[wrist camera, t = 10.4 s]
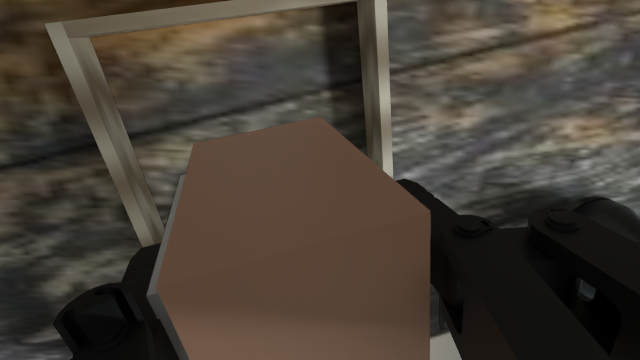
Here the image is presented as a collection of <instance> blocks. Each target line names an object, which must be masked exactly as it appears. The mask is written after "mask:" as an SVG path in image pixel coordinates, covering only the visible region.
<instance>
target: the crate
mask: <svg viewBox="0 0 640 360" xmlns="http://www.w3.org/2000/svg"><path fill="white" fill-rule="evenodd" d="M351 2H357V13H358V27H359V41H360V55H361V70H362V84H363V98H364V112H365V126H366V140H367V154H368V158H369V159H371V160H372V161H373V162H374V163H375V164H376V165H377V166H379V167H380V168H381V169H382V170H383V171H384V172H386V173H387V174H388V175H389V176H390V177H391V178H393V162H392V135H391V108H390V80H389V53H388V26H387V0H231V1H223V2H215V3H207V4H199V5H191V6H183V7H175V8H167V9H158V10H150V11H142V12H134V13H126V14H118V15H110V16H102V17H94V18H86V19H78V20H70V21H62V22H54V23H46V24H45V27H46V29H47V31H48V34H49V36H50V38H51V40H52V43H53V45H54V47H55V49H56V52H57V54H58V56H59V59H60V61H61V63H62V65H63V68H64V70H65V72H66V74H67V77H68V79H69V81H70V84H71V86H72V88H73V90H74V93H75V95H76V97H77V100H78V102H79V104H80V106H81V109H82V111H83V113H84V115H85V118H86V120H87V122H88V125H89V127H90V129H91V131H92V134H93V136H94V138H95V141H96V143H97V145H98V147H99V150H100V152H101V154H102V156H103V159H104V161H105V163H106V166H107V168H108V170H109V172H110V175H111V177H112V179H113V181H114V184H115V186H116V188H117V191H118V193H119V195H120V197H121V200H122V202H123V204H124V207H125V209H126V211H127V213H128V216H129V218H130V220H131V222H132V225H133V227H134V229H135V232H136V234H137V236H138V238H139V241H140V243H141V245H142V247H146V246H150V245H154V244H158V243H162V239H163V236H164V232H165V229H164V226H163V224H162V221H161V218H160V216H159V213H158V211H157V208H156V206H155V203H154V201H153V198H152V196H151V193H150V190H149V188H148V185H147V183H146V180H145V178H144V175H143V173H142V170H141V167H140V165H139V162H138V160H137V157H136V155H135V152H134V150H133V147H132V145H131V142H130V139H129V137H128V134H127V132H126V129H125V127H124V124H123V122H122V119H121V117H120V114H119V111H118V109H117V106H116V104H115V101H114V99H113V96H112V94H111V91H110V89H109V86H108V83H107V81H106V78H105V76H104V73H103V71H102V68H101V66H100V63H99V60H98V58H97V55H96V53H95V50H94V48H93V45H92V43H91V40H90V37H97V36H104V35H112V34H119V33H127V32H134V31H142V30H149V29H157V28H164V27H172V26H179V25H187V24H194V23H202V22H209V21H216V20H224V19H231V18H239V17H246V16H254V15H261V14H269V13H276V12H284V11H291V10H299V9H306V8H313V7H321V6H328V5H336V4H343V3H351Z"/></svg>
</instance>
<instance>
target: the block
mask: <svg viewBox="0 0 640 360" xmlns="http://www.w3.org/2000/svg"><path fill="white" fill-rule="evenodd" d="M156 289H157V291H158V294H159V296H160V298H161V300H162V302H163V304H164V306H165V308H166V311H167V313H168V315H169V317H170V319H171V321H172V323H173V325H174V327H175V330H176V332H177V334H178V336H179V338H180V340H181V342H182V344H183V347H184V349H185V351H186V353H187V355H188V357H189V359H190V360H429V359H430V210H429V209H427V208H426V207H425V206H424V205H423V204H422V203H420V202H419V201H418V200H417V199H416V198H415V197H414V196H412V195H411V194H410V193H409V192H408V191H407V190H405V189H404V188H403V187H402V186H401V185H400V184H398V183H397V182H396V181H395V180H394V179H393V178H391V177H390V176H389V175H388V174H387V173H386V172H384V171H383V170H382V169H381V168H380V167H379V166H377V165H376V164H375V163H374V162H373V161H372V160H371V159H369V158H368V157H367V156H366V155H365V154H364V153H362V152H361V151H360V150H359V149H358V148H357V147H355V146H354V145H353V144H352V143H351V142H350V141H348V140H347V139H346V138H345V137H344V136H343V135H341V134H340V133H339V132H338V131H337V130H336V129H334V128H333V127H332V126H331V125H330V124H329V123H327V122H326V121H325V120H324V119H323V118H322V117H317V118H313V119H308V120H303V121H298V122H294V123H289V124H284V125H280V126H275V127H270V128H265V129H261V130H256V131H251V132H246V133H242V134H237V135H232V136H227V137H223V138H218V139H213V140H209V141H204V142H199V143H194V144H193V148H192V152H191V156H190V159H189V163H188V167H187V171H186V175H185V178H184V182H183V186H182V190H181V194H180V198H179V201H178V205H177V209H176V213H175V217H174V220H173V224H172V228H171V232H170V236H169V240H168V243H167V247H166V251H165V255H164V259H163V262H162V266H161V270H160V274H159V278H158V282H157V285H156Z"/></svg>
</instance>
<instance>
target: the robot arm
mask: <svg viewBox="0 0 640 360" xmlns="http://www.w3.org/2000/svg"><path fill="white" fill-rule="evenodd" d="M185 175H186V174H184V175H181V176H180V180H179V183H178V187H177V190H176V194H175V197H174V201H173V204H172V208H171V211H170V215H169V218H168V222H167V225H166V229H165V232H164V236H163V239H162V243H158V244H154V245H150V246H146V247H142V248H141V249H140V250H139V251H138V252H137V253H136V254H135V255H134V256H133V258H132V259H131V260H130V262H129V264H128V267H127V269H126V272H125V273H126V274H125V275H124V277H123V279H122V282H121V283H108V284H105V285H102V286H98V287H95V288H93V289H91V290H89V291H87V292H85V293H83V294H81V295H80V296H78V297H77V298H75V299H74V300H73V301H71V302H70V303H68V304H67V305H66V306H65V307H64V309H63V310H62V311H61V312H60V313H59V314H58V315H57V317H56V319H55V321H54V323H53V325H54V327H55V328H56V330H57V331H58V332H59V334H60V335H61V337H62V338H63V340H64V341H65V343H66V344H67V345H68V347H69V348H70V350H71V351H72V353H73V358H72V359H70V360H190V359H189V357H188V355H187V353H186V351H185V349H184V347H183V344H182V342H181V340H180V338H179V336H178V334H177V332H176V330H175V327H174V325H173V323H172V321H171V319H170V317H169V315H168V313H167V311H166V308H165V306H164V304H163V302H162V300H161V298H160V296H159V294H158V291H157V289H156V285H157V282H158V278H159V274H160V270H161V266H162V262H163V259H164V255H165V251H166V247H167V243H168V240H169V236H170V232H171V228H172V224H173V220H174V217H175V213H176V209H177V205H178V201H179V198H180V194H181V190H182V186H183V182H184V178H185ZM396 182H397V183H398V184H400V185H401V186H402V187H403V188H404V189H405V190H407V191H408V192H409V193H410V194H411V195H412V196H414V197H415V198H416V199H417V200H418V201H419V202H420V203H422V204H423V205H424V206H425V207H426V208H427V209H429V210H430V283H431V284H432V285H433V286H434V288H435V289H436V290H437V291H438V292H439V326H440V329H444V320H445V321H446V323H447V325H448V328H449V330H450V333H451V335H452V337H453V339H454V342H455V344H456V346H457V349H458V351H459V354H460V356H461V358H462V360H640V217H639V216H638V215H637V214H636V213H635V212H634V211H633V210H632V209H630V208H628V207H626V206H624V205H622V204H619V203H617V202H615V201H612V200H608V199H601V200H596V201H592V202H589V203H587V204H585V205H583V206H581V207H579V208H578V209H576V210H575V211H569V210H565V209H560V208H546V209H539V210H537V211H535V212H533V213H531V215H530V217H529V221H528V227H521V228H505V229H499V228H498V227H497V226H496V225H495V224H493V223H492V222H491V221H489V220H487V219H485V218H482V217H479V216H473V215H458V214H457V213H456V212H454V211H453V210H452V209H450V208H449V207H448V206H447V205H445V204H444V203H443V202H441V201H440V200H439V199H437V198H436V197H434V195H432V194H431V193H430V192H427V190H426V189H425V188H423V187H422V186H421V185H419V184H418V183H416V182H413V181H410V180H407V179H401V180H397V181H396Z"/></svg>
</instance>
